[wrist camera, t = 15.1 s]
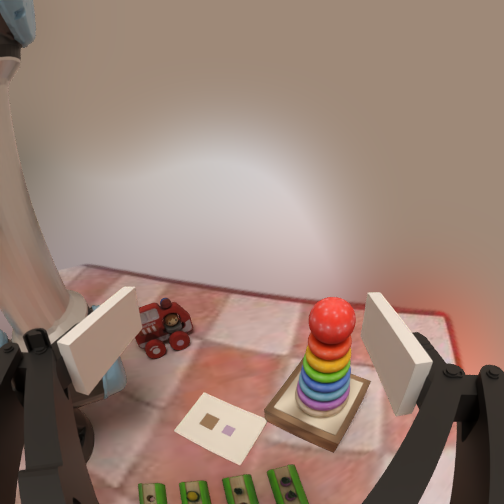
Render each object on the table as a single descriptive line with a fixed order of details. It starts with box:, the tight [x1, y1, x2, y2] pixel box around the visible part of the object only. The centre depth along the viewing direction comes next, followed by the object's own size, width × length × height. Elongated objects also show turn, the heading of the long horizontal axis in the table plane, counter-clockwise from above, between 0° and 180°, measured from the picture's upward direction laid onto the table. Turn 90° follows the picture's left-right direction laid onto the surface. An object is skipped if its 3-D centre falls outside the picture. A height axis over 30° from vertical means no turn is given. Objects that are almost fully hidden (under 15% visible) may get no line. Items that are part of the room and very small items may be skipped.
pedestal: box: [264, 359, 371, 452], centre depth 38 cm, size 12×12×4 cm
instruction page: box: [174, 392, 267, 465], centre depth 38 cm, size 12×9×1 cm
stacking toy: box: [295, 297, 356, 417], centre depth 32 cm, size 8×8×19 cm
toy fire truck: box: [135, 298, 193, 359], centre depth 52 cm, size 7×12×10 cm, turn 118°
